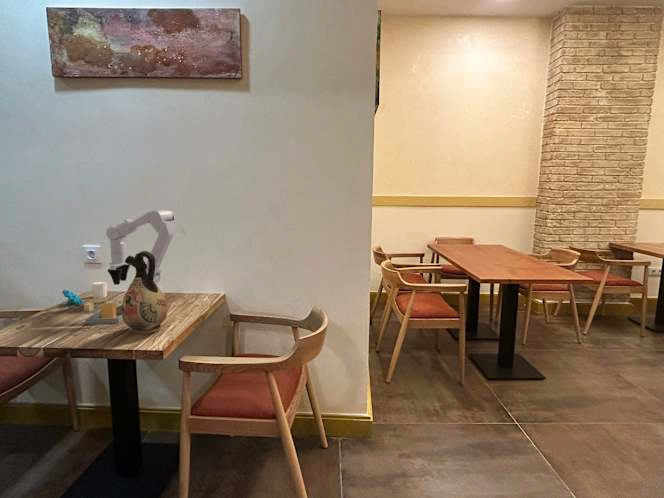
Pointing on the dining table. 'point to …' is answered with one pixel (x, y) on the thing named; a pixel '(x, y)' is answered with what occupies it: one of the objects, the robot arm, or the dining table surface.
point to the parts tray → (94, 319)
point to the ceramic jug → (143, 297)
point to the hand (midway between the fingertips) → (120, 282)
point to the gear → (72, 297)
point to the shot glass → (99, 289)
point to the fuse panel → (91, 308)
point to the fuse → (108, 310)
